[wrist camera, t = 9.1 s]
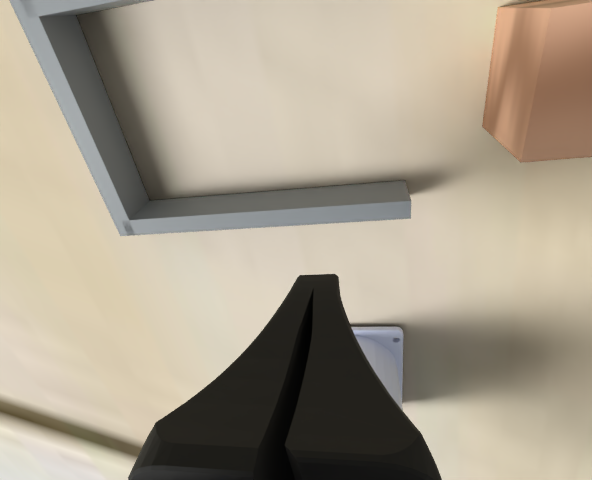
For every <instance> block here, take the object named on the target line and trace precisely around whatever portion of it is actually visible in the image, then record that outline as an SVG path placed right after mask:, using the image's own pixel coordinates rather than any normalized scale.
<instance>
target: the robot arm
mask: <svg viewBox="0 0 592 480" xmlns="http://www.w3.org/2000/svg"><path fill="white" fill-rule="evenodd" d="M395 338H396V339H395ZM402 382H403V330H402V329H401V328H400V327H351V326H350V323H349V321H348V318H347V316H346V313H345V310H344V307H343V304H342V301H341V297H340V289H339V279H338V276H337V275H335V274H324V275H300V276H299V277H298V278H297V280H296V281H295V283H294V285H293V287H292V288H291V290H290V292H289V293H288V295H287V296H286V298H285V300H284V301H283V303H282V304H281V306H280V307H279V308H278V310H277V311H276V313H275V314H274V316H273V317H272V318H271V320H270V321H269V322H268V324H267V325H266V326H265V328H264V329H263V330H262V331H261V333H260V334H259V335H258V336H257V338H256V339H255V340H254V341H253V342H252V343H251V345H250V346H249V347H248V348H247V349H246V350H245V351H244V352H243V353H242V354H241V355H240V356H239V357H238V358H237V359H236V360H235V361H234V362H233V363H232V364H231V365H230V366H229V367H228V368H227V369H226V370H225V371H224V372H223V373H222V374H221V375H219V376H218V377H217V378H216V379H215V380H214V381H212V382H211V383H210V384H209V385H208V386H206V387H205V388H204V389H203V390H201V391H200V392H199V393H198V394H196V395H195V396H194V397H192V398H191V399H190V400H188V401H187V402H186V403H184V404H183V405H181V406H180V407H178V408H177V409H175V410H174V411H172V412H171V413H170V414H168V415H167V416H165V417H164V418H162V419H161V420H159V421H157V422H156V423H155V425H154V427H153V429H152V430H151V432H150V434H149V435H148V437H147V439H146V441H145V443H144V445H143V447H142V449H141V451H140V454H139V456H138V458H137V460H136V462H135V464H134V466H133V468H132V471H131V473H130V475H129V477H128V480H442V479H441V476H440V474H439V471H438V468H437V466H436V464H435V461H434V459H433V457H432V455H431V453H430V450H429V448H428V446H427V444H426V442H425V440H424V438H423V436H422V434H421V433H420V431H419V430H418V429H417V428H416V427H415V426H414V424H413V423H412V422H411V421H410V420H409V418H408V417H407V416H406V415H405V413H404V412H403V408H402Z"/></svg>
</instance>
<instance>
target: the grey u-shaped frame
mask: <svg viewBox="0 0 592 480" xmlns="http://www.w3.org/2000/svg"><path fill="white" fill-rule="evenodd" d="M147 1H153V0H10V3H11V5H12V7H13V9H14V11H15V13H16V15H17V17H18V20H19V22H20V24H21V26H22V28H23V30H24V32H25V34H26V37H27V39H28V41H29V43H30V45H31V47H32V49H33V51H34V54H35V56H36V58H37V60H38V62H39V64H40V66H41V68H42V71H43V73H44V75H45V77H46V79H47V81H48V83H49V85H50V88H51V90H52V92H53V94H54V96H55V98H56V100H57V102H58V105H59V107H60V109H61V111H62V113H63V115H64V117H65V119H66V121H67V124H68V126H69V128H70V130H71V132H72V134H73V136H74V138H75V141H76V143H77V145H78V147H79V149H80V151H81V153H82V155H83V158H84V160H85V162H86V164H87V166H88V168H89V170H90V172H91V175H92V177H93V179H94V181H95V183H96V185H97V187H98V189H99V192H100V194H101V196H102V198H103V200H104V202H105V204H106V206H107V209H108V211H109V213H110V215H111V217H112V219H113V221H114V223H115V226H116V228H117V230H118V232H119V234H120V236H129V235H145V234H162V233H178V232H195V231H212V230H228V229H245V228H261V227H278V226H294V225H311V224H328V223H344V222H361V221H377V220H394V219H410V218H411V199H410V195H409V192H408V189H407V185H406V182H405V180H403V181H390V182H378V183H365V184H352V185H340V186H327V187H315V188H302V189H289V190H277V191H264V192H252V193H239V194H226V195H214V196H201V197H189V198H176V199H163V200H151V201H149V198H148V196H147V193H146V191H145V188H144V186H143V183H142V181H141V178H140V176H139V173H138V171H137V168H136V165H135V163H134V160H133V158H132V155H131V153H130V150H129V148H128V145H127V143H126V140H125V138H124V135H123V133H122V130H121V128H120V125H119V123H118V120H117V118H116V115H115V113H114V110H113V108H112V105H111V102H110V100H109V97H108V95H107V92H106V90H105V87H104V85H103V82H102V80H101V77H100V75H99V72H98V70H97V67H96V65H95V62H94V60H93V57H92V55H91V52H90V50H89V47H88V45H87V42H86V39H85V37H84V34H83V32H82V29H81V27H80V24H79V22H78V19H77V17H76V15H80V14H85V13H90V12H95V11H101V10H106V9H111V8H116V7H121V6H127V5H132V4H137V3H142V2H147Z"/></svg>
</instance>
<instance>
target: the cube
mask: <svg viewBox="0 0 592 480" xmlns="http://www.w3.org/2000/svg"><path fill="white" fill-rule="evenodd" d="M482 127H483V128H484V129H486V130H487V131H488V132H489V133H490V134H491V135H492V136H493V137H494V138H495V139H496V140H497V141H498V142H499V143H501V144H502V145H503V146H504V147H505V148H506V149H507V150H508V151H509V152H510V153H511V154H512V155H513V156H514V157H516V158H517V159H518V160H519V161H520V162H532V161H544V160H557V159H570V158H582V157H592V0H543V1H537V2H530V3H524V4H517V5H511V6H504V7H498V10H497V18H496V25H495V33H494V41H493V48H492V56H491V64H490V71H489V79H488V86H487V94H486V102H485V109H484V117H483V125H482Z"/></svg>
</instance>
